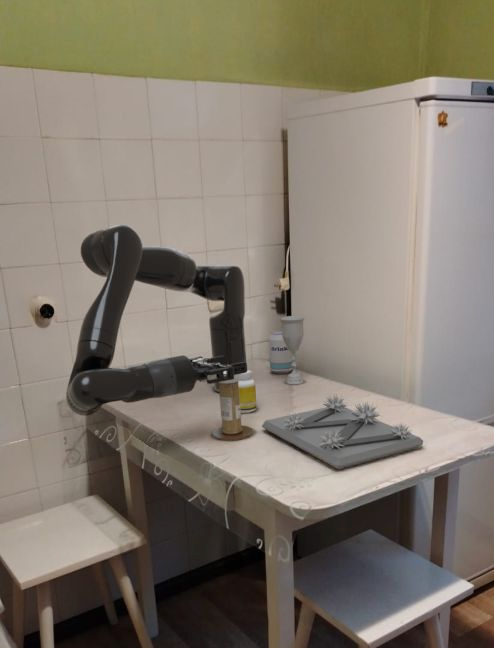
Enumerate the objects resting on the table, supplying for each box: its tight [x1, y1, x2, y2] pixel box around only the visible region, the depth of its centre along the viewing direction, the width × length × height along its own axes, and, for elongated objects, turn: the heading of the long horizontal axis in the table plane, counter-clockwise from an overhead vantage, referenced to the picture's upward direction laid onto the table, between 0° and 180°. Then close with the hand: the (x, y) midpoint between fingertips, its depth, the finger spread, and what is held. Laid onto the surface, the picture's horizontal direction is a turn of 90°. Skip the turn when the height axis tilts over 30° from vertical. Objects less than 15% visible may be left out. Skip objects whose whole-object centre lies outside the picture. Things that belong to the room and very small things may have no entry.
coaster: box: [212, 425, 254, 442], centre depth 142 cm, size 9×9×1 cm
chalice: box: [279, 315, 306, 385], centre depth 179 cm, size 7×7×18 cm
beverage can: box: [268, 330, 293, 375], centre depth 192 cm, size 7×7×12 cm
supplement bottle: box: [238, 369, 258, 414], centre depth 157 cm, size 5×5×10 cm
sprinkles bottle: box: [218, 371, 243, 435], centre depth 139 cm, size 5×5×13 cm
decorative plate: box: [261, 394, 424, 470], centre depth 134 cm, size 30×22×7 cm
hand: (235, 363), depth 138 cm, fingers open, 8 cm apart
